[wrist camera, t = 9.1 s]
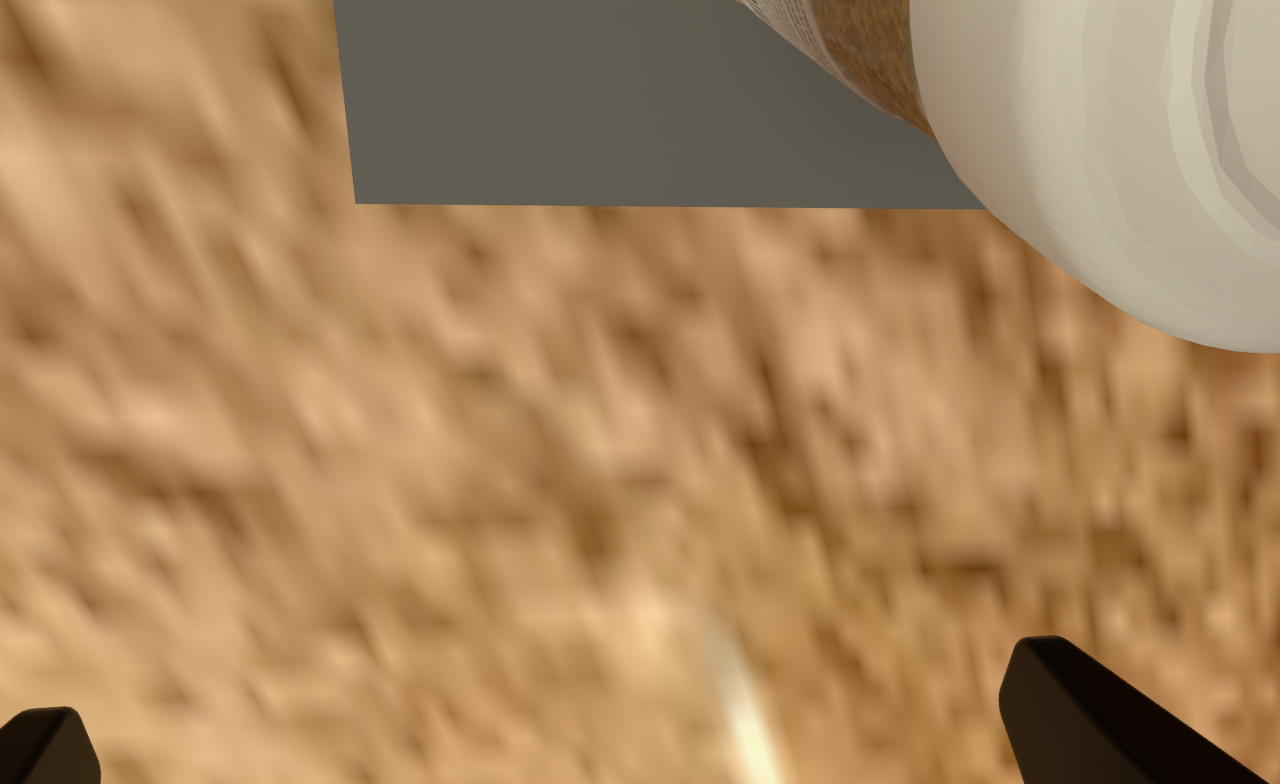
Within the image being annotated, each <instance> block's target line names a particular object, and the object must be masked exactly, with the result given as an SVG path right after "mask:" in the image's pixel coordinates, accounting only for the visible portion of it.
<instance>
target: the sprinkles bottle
mask: <svg viewBox="0 0 1280 784" xmlns="http://www.w3.org/2000/svg"><path fill="white" fill-rule="evenodd" d="M736 1H738V2H740V3H742V4H745V5H746V6H747V7H748V8H749V9H750V10H751V11H753V12H754V13H755V14H756V15H757V16H758V17H759V18H761V19H762V20H763V21H764V22H766V23H767V24H768V25H769V26H770V27H772V28H773V29H774V30H775V31H776V32H778V33H779V34H780V35H781V36H782V37H784V38H785V39H786V40H788V41H789V42H790V43H791V44H793V45H794V46H795V47H796V48H798V49H799V50H800V51H802V52H803V53H804V54H806V55H807V56H809V57H810V58H811V59H812V60H814V61H815V62H816V63H817V64H819V65H820V66H821V67H822V68H824V69H825V70H826V71H827V72H829V73H830V74H831V75H832V76H834V77H835V78H836V79H838V80H839V81H840V82H842V83H843V84H844V85H846V86H847V87H848V88H850V89H851V90H852V91H853V92H855V93H856V94H857V95H859V96H860V97H861V98H863V99H864V100H865V101H867V102H868V103H870V104H871V105H873V106H874V107H876V108H878V109H879V110H881V111H883V112H885V113H886V114H888V115H890V116H892V117H893V118H897V119H903V120H906V121H907V122H909V123H910V124H912V125H913V126H915V127H916V128H918V129H919V130H921V131H923V132H924V133H926V134H927V135H929V136H930V137H931V138H933V139H934V140H935V141H936V142H938V143H939V145H940V147H941V149H942V151H943V153H944V154H945V156H946V158H947V160H948V161H949V163H950V165H951V166H952V168H953V169H954V171H955V173H956V174H957V176H958V177H959V179H960V180H961V181H962V182H963V183H964V184H965V185H966V186H967V187H968V188H969V189H970V191H971V192H972V193H973V194H974V195H975V196H976V197H977V198H978V199H979V200H980V201H981V203H982V204H983V205H984V206H985V207H986V208H987V209H988V210H989V211H990V212H991V213H992V214H993V215H994V216H996V217H997V218H998V219H999V220H1000V221H1001V222H1002V223H1004V224H1005V225H1006V226H1007V227H1008V228H1010V229H1011V230H1012V231H1013V232H1014V233H1016V234H1017V235H1018V236H1019V237H1021V238H1022V239H1023V240H1025V241H1026V242H1027V243H1028V244H1030V245H1031V246H1032V247H1034V248H1035V249H1036V250H1037V251H1039V252H1040V253H1041V254H1042V255H1044V256H1045V257H1046V258H1048V259H1049V260H1050V261H1051V262H1053V263H1054V264H1055V265H1057V266H1058V267H1059V268H1061V269H1062V270H1063V271H1065V272H1066V273H1068V274H1069V275H1071V276H1072V277H1074V278H1075V279H1076V280H1078V281H1079V282H1081V283H1082V284H1084V285H1085V286H1087V287H1088V288H1090V289H1091V290H1092V291H1094V292H1095V293H1097V294H1098V295H1100V296H1101V297H1103V298H1104V299H1106V300H1107V301H1108V302H1110V303H1111V304H1113V305H1114V306H1116V307H1118V308H1119V309H1121V310H1122V311H1124V312H1126V313H1127V314H1129V315H1130V316H1132V317H1134V318H1135V319H1137V320H1139V321H1140V322H1142V323H1144V324H1146V325H1148V326H1151V327H1153V328H1155V329H1158V330H1160V331H1162V332H1164V333H1167V334H1169V335H1172V336H1175V337H1178V338H1181V339H1185V340H1188V341H1191V342H1194V343H1197V344H1201V345H1206V346H1211V347H1216V348H1221V349H1227V350H1232V351H1238V352H1254V353H1280V0H736Z"/></svg>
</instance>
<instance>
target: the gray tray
mask: <svg viewBox="0 0 1280 784" xmlns="http://www.w3.org/2000/svg"><path fill="white" fill-rule="evenodd" d="M333 3H334V12H335V21H336V30H337V39H338V48H339V57H340V66H341V76H342V85H343V94H344V103H345V112H346V121H347V130H348V139H349V148H350V157H351V166H352V175H353V184H354V193H355V202H356V204H442V205H554V206H665V207H777V208H888V209H987V208H986V207H985V206H984V205H983V204H982V203H981V201H980V200H979V199H978V198H977V197H976V196H975V195H974V194H973V193H972V192H971V191H970V189H969V188H968V187H967V186H966V185H965V184H964V183H963V182H962V181H961V180H960V179H959V177H958V176H957V174H956V173H955V171H954V169H953V168H952V166H951V165H950V163H949V161H948V160H947V158H946V156H945V154H944V153H943V151H942V149H941V147H940V145H939V143H938V142H936V141H935V140H934V139H933V138H931V137H930V136H929V135H927V134H926V133H924V132H923V131H921V130H919V129H918V128H916V127H915V126H913V125H912V124H910V123H909V122H907V121H906V120H903V119H897V118H893V117H892V116H890V115H888V114H886V113H885V112H883V111H881V110H879V109H878V108H876V107H874V106H873V105H871V104H870V103H868V102H867V101H865V100H864V99H863V98H861V97H860V96H859V95H857V94H856V93H855V92H853V91H852V90H851V89H850V88H848V87H847V86H846V85H844V84H843V83H842V82H840V81H839V80H838V79H836V78H835V77H834V76H832V75H831V74H830V73H829V72H827V71H826V70H825V69H824V68H822V67H821V66H820V65H819V64H817V63H816V62H815V61H814V60H812V59H811V58H810V57H809V56H807V55H806V54H804V53H803V52H802V51H800V50H799V49H798V48H796V47H795V46H794V45H793V44H791V43H790V42H789V41H788V40H786V39H785V38H784V37H782V36H781V35H780V34H779V33H778V32H776V31H775V30H774V29H773V28H772V27H770V26H769V25H768V24H767V23H766V22H764V21H763V20H762V19H761V18H759V17H758V16H757V15H756V14H755V13H754V12H753V11H751V10H750V9H749V8H748V7H747V6H746V5H745V4H742V3H740V2H738V1H736V0H333Z"/></svg>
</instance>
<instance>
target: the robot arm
mask: <svg viewBox="0 0 1280 784" xmlns="http://www.w3.org/2000/svg"><path fill="white" fill-rule="evenodd" d="M999 709H1000V714H1001V717H1002V720H1003V723H1004V726H1005V729H1006V732H1007V735H1008V738H1009V741H1010V743H1011V746H1012V749H1013V752H1014V755H1015V758H1016V761H1017V764H1018V767H1019V770H1020V773H1021V776H1022V779H1023V781H1024V784H1269V783H1268V782H1266V781H1265V780H1264V779H1262V778H1261V777H1259V776H1258V775H1257V774H1255V773H1254V772H1252V771H1251V770H1250V769H1248V768H1247V767H1245V766H1244V765H1243V764H1241V763H1240V762H1238V761H1237V760H1236V759H1234V758H1233V757H1231V756H1230V755H1229V754H1227V753H1226V752H1224V751H1223V750H1222V749H1220V748H1219V747H1217V746H1216V745H1215V744H1213V743H1212V742H1210V741H1209V740H1207V739H1206V738H1205V737H1203V736H1202V735H1200V734H1199V733H1198V732H1196V731H1195V730H1193V729H1192V728H1191V727H1189V726H1188V725H1186V724H1185V723H1184V722H1182V721H1181V720H1179V719H1178V718H1177V717H1175V716H1174V715H1172V714H1171V713H1170V712H1168V711H1167V710H1165V709H1164V708H1163V707H1161V706H1160V705H1158V704H1157V703H1155V702H1154V701H1153V700H1151V699H1150V698H1148V697H1147V696H1146V695H1144V694H1143V693H1141V692H1140V691H1139V690H1137V689H1136V688H1134V687H1133V686H1132V685H1130V684H1129V683H1127V682H1126V681H1125V680H1123V679H1122V678H1120V677H1119V676H1118V675H1116V674H1115V673H1113V672H1112V671H1111V670H1109V669H1108V668H1106V667H1105V666H1104V665H1102V664H1101V663H1099V662H1098V661H1096V660H1095V659H1094V658H1092V657H1091V656H1089V655H1088V654H1087V653H1085V652H1084V651H1082V650H1081V649H1080V648H1078V647H1077V646H1075V645H1074V644H1073V643H1071V642H1070V641H1068V640H1067V639H1065V638H1063V637H1060V636H1056V635H1048V636H1034V637H1025V638H1022V639H1020V640H1019V641H1018V642H1017V643H1016V645H1015V647H1014V650H1013V652H1012V655H1011V658H1010V661H1009V664H1008V667H1007V670H1006V673H1005V676H1004V679H1003V682H1002V685H1001V687H1000V691H999ZM100 783H101V770H100V764H99V760H98V758H97V756H96V753H95V751H94V748H93V746H92V744H91V741H90V739H89V736H88V734H87V732H86V729H85V727H84V724H83V722H82V720H81V717H80V716H79V714H78V712H77V711H76V710H74V709H73V708H71V707H66V706H63V707H49V708H35V709H28V710H25V711H22V712H21V713H19V714H17V715H16V716H14V717H13V718H12V719H10V720H9V721H8V722H7V723H6V724H5V725H4V726H2V727H1V728H0V784H100Z"/></svg>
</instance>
